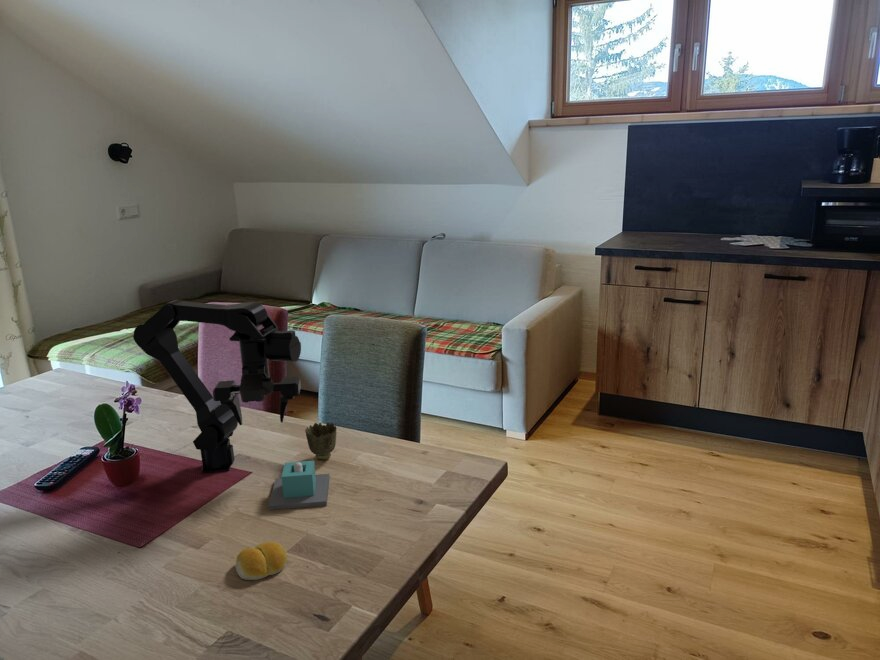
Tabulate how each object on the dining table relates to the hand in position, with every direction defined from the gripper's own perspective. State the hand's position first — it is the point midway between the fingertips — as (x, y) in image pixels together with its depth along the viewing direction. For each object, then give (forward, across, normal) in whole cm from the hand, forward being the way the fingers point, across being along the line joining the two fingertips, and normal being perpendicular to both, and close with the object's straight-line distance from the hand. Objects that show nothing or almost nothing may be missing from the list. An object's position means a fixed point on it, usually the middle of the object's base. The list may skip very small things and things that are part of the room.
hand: (261, 423), depth 150 cm
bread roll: (+12, +4, -37) cm, 40 cm away
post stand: (+12, +9, -12) cm, 19 cm away
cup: (+12, +13, +4) cm, 18 cm away
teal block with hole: (+11, +9, -12) cm, 19 cm away
